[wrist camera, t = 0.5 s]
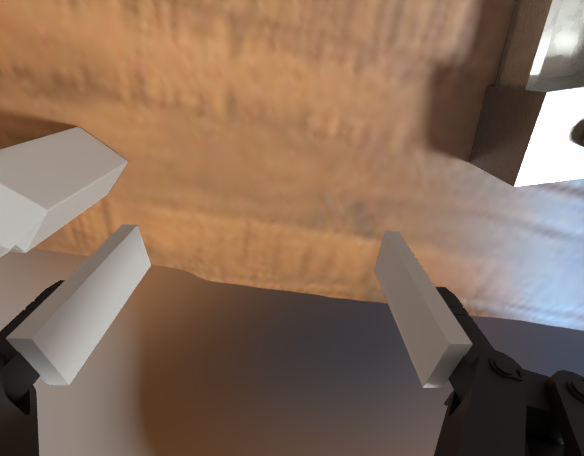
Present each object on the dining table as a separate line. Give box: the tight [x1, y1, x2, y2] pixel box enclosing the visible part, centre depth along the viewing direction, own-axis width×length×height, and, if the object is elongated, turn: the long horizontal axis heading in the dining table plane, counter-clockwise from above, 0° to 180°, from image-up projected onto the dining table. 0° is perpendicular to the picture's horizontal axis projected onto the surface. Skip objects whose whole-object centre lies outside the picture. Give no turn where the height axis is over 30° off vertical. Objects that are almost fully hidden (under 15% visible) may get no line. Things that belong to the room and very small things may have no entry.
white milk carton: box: [0, 127, 128, 257], centre depth 30 cm, size 7×7×19 cm
